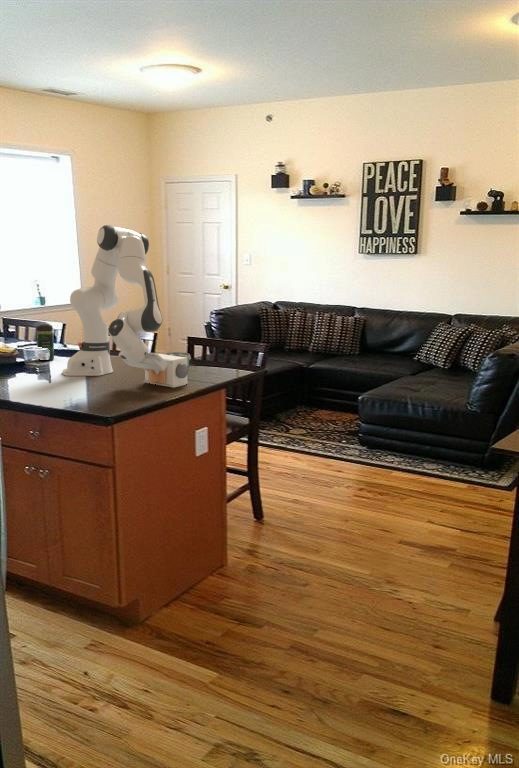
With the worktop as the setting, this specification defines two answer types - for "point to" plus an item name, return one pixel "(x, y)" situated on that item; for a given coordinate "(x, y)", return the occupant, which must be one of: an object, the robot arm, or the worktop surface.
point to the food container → (181, 356)
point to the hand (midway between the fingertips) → (154, 372)
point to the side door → (157, 376)
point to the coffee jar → (45, 338)
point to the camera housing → (173, 371)
